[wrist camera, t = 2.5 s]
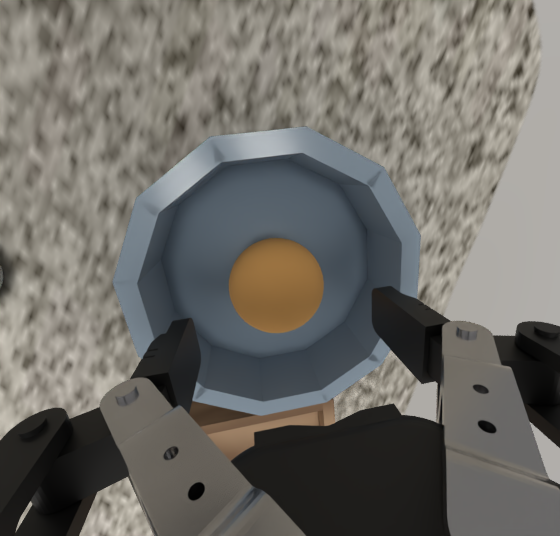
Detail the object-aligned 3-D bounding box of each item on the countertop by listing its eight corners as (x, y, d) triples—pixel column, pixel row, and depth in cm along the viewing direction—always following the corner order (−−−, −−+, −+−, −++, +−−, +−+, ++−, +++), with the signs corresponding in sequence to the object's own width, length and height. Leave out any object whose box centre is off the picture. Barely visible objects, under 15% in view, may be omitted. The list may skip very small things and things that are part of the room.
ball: (223, 236, 16) (216, 261, 11) (307, 224, 17) (334, 243, 12) (237, 312, 18) (236, 362, 13) (313, 299, 18) (339, 343, 14)
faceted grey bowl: (121, 160, 15) (67, 151, 10) (374, 132, 17) (427, 113, 12) (183, 375, 20) (165, 435, 15) (374, 339, 21) (412, 384, 17)
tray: (169, 400, 21) (158, 435, 18) (321, 370, 22) (333, 399, 19) (202, 502, 24) (197, 544, 22) (329, 472, 26) (340, 509, 23)
